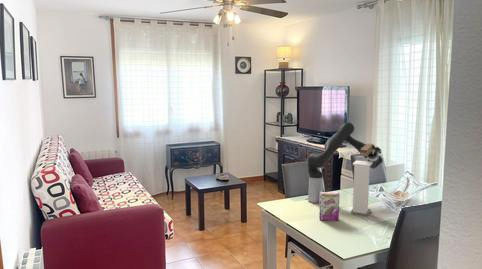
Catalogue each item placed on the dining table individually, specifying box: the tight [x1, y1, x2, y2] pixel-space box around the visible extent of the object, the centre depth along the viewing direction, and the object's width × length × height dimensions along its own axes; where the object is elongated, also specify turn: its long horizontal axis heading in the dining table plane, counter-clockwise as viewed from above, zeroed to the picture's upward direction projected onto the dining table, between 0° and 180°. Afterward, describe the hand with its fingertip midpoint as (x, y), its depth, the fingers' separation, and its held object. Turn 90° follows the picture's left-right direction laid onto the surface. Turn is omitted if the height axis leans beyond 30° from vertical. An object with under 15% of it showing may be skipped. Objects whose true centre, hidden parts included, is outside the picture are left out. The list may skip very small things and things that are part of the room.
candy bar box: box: [318, 191, 341, 222], centre depth 216 cm, size 11×5×16 cm, turn 84°
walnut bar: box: [359, 143, 374, 157], centre depth 234 cm, size 24×4×4 cm, turn 151°
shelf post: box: [350, 160, 373, 217], centre depth 226 cm, size 10×10×32 cm
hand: (369, 145), depth 240 cm, fingers closed on walnut bar, 4 cm apart
